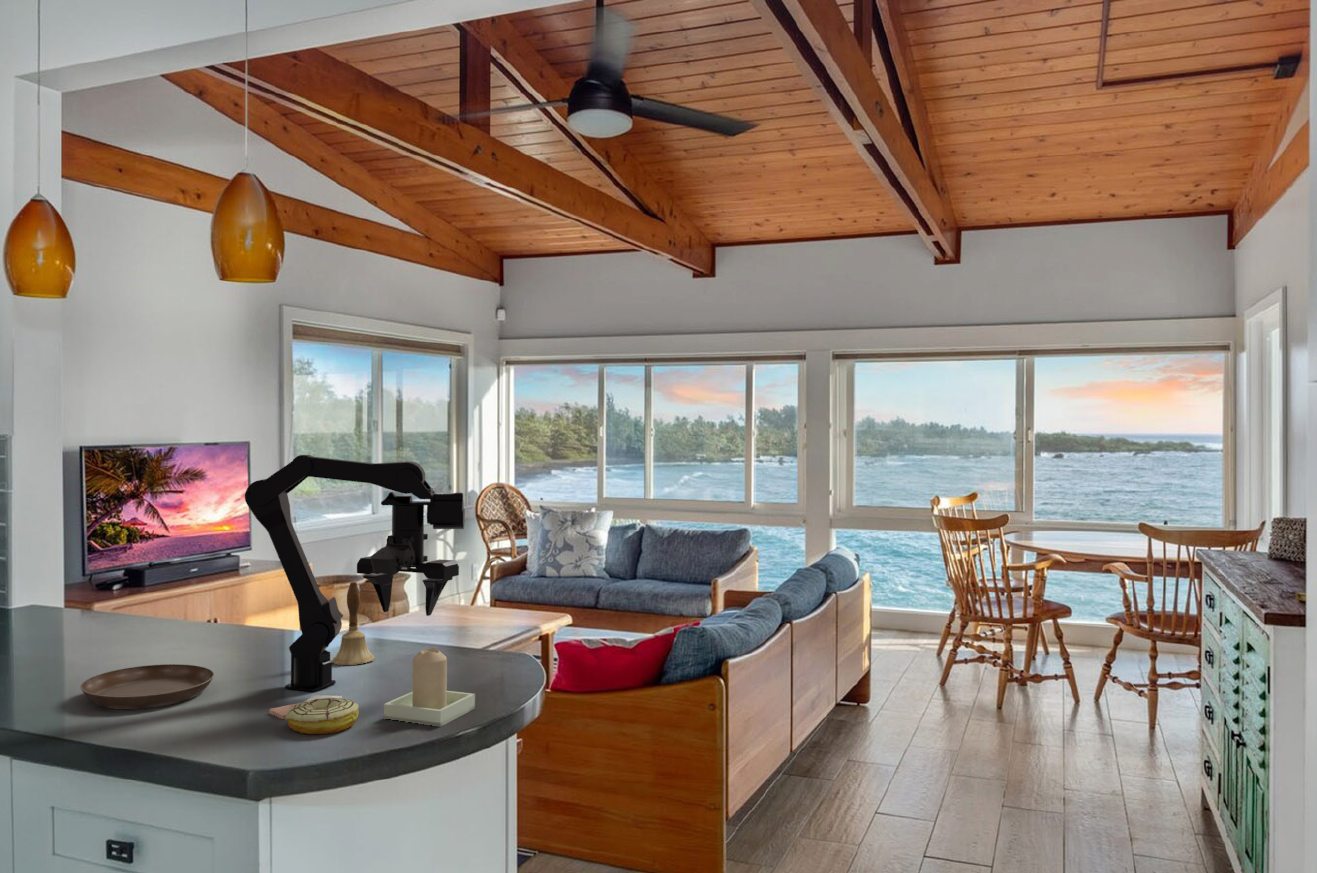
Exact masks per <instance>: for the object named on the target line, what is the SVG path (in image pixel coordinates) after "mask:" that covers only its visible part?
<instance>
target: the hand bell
mask: <svg viewBox="0 0 1317 873" xmlns="http://www.w3.org/2000/svg"><path fill="white" fill-rule="evenodd" d="M360 593H361V592H360V589H359V587H358V583H357V582H356V581H351V582H350V583H349V587H348V589H347V592H346V604H347V609H348V614H349V616H348V617H349V618H348V619H349V621H348V626H349V627H348V630H347V632H346V633H343V634H342V636H341V642H340V646H339V649H338V652H337V653H336V655H335V657H333V658H332V660H331V661H332V664H333V663H334V665H336V664H337V665H336V666H343V665H351V666H358V665H357V664H361V665H364V664H363V663H366V664H368V663H367V662H370V661H372V660H374V658H375V656H374V655H373V654H372V653H371V652H370V651H369V648H368V646H367V641H366V635H365V633H364V632H362V631H359V629H358V628H359V627H358V626H359V624H358V623H359V622H358V612H359V608H360V604H361V594H360ZM374 661H375V660H374ZM372 662H373V661H372ZM370 663H371V662H370Z"/></svg>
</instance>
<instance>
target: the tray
mask: <svg viewBox="0 0 1317 873" xmlns="http://www.w3.org/2000/svg"><path fill="white" fill-rule="evenodd" d="M412 694H413V690H411V692H408V693H406V694H404V695H402V696H399V697H397V698H394V699H392V700H390V701H388V702H386V703H384V704H383V720H385V719H393V720H399V721H398V722H400V721H405V722H404V723H408V722H412V723H411V724H415V723H418V724H417V725H423V724H424V725H423V726H430V725H432V727H440V728H441V727H443V726H444V725H446V724H448V723H451V722H453V721H454V720H456V719H458V718H460V717H462V716H463V715H466V714H467V713H470V712H472V711H473V710H475V709H476V693H472V692H462V691H454V690H453V691H452V690H451V691H450V690H447V704H446V707H444V708H442V709H440V710H438V709H430V708H422V707H414V706H412Z"/></svg>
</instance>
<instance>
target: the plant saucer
mask: <svg viewBox="0 0 1317 873" xmlns="http://www.w3.org/2000/svg"><path fill="white" fill-rule="evenodd" d="M214 677H215V672H214V671H213V670H212V669H210V668H208V667H204V666H199V665H195V664H180V663H179V664H178V663H177V664H173V663H172V664H170V663H169V664H167V663H166V664H165V663H164V664H163V663H162V664H151V665H150V664H149V665H138V666H134V667H133V666H131V667H125V668H121V669H119V668H118V669H116V670H111V671H106V672H103V673H100V674H97V675H93V676H91V677H89V678H88V679H86V680H85V681H84V680H83V682H82V683H81V684H80V690H81V691H82V692H83V694H84V696H86V697H87V699H89V700H90V701H91V702H93V703H95V704H96V705H97V706H100V707H103V708H106V709H112V708H115V709H114V710H140V709H139V708H142V709H151V708H150V707H152V708H159V707H165V706H169V705H174V704H179V703H183V702H185V701H188V700H191V699H193V698H195V697H197V696H199V695H200V694H201V693H202V692H203V691H204V690H206V689H207V687H208V686H209V685H210V684H211V682H212V681H213V679H214ZM164 705H165V706H164ZM158 706H159V707H158Z"/></svg>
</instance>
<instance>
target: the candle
mask: <svg viewBox="0 0 1317 873" xmlns="http://www.w3.org/2000/svg"><path fill="white" fill-rule="evenodd" d="M447 672H448V658H447V656H446V655H445V654H444V653H443V652H441V651H440V650H439V649H437V648H435V647H432V648H425V649H423V650H419V652H418V653H417V654H416V655H415V656H414V657H413V658H412V691H413V694H412V706H414V707H422V708H430V709H438V710H440V709H442V708H444V707H446V704H447V691H448V690H447V689H448V688H447V686H448V684H447V683H448V673H447Z"/></svg>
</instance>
